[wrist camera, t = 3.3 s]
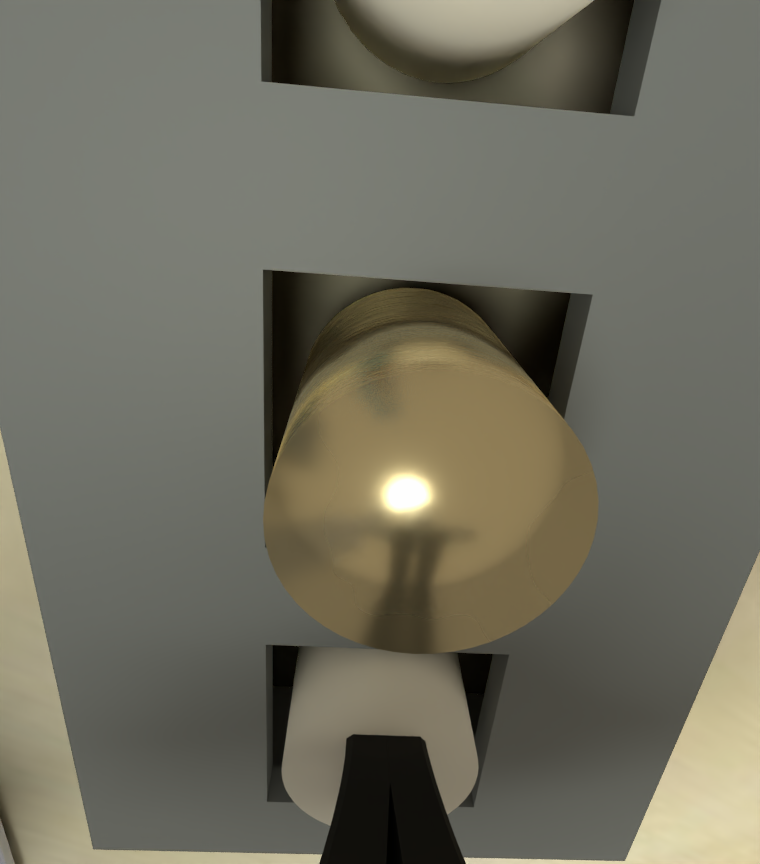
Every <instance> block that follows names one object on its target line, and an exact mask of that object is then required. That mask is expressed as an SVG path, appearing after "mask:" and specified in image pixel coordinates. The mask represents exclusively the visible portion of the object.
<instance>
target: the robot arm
mask: <svg viewBox="0 0 760 864" xmlns="http://www.w3.org/2000/svg"><path fill="white" fill-rule="evenodd" d="M0 864H15V862H14V859H13V856H12V853H11V850H10V847H9V844H8V841H7V838H6V835H5V831H4V828H3V825H2V822H1V819H0ZM320 864H466V863H465V860H464V858H463V855H462V853H461V850H460V848H459V845H458V843H457V840H456V838H455V835H454V832H453V829H452V827H451V824H450V821H449V818H448V816H447V813H446V810H445V807H444V804H443V801H442V798H441V795H440V792H439V789H438V786H437V783H436V779H435V776H434V773H433V769H432V766H431V762H430V758H429V754H428V750H427V746H426V742H425V740H423V739H422V738H421V737H420V736H390V735H360V734H353V735H351V736H349V737H348V738H346V750H345V760H344V767H343V773H342V779H341V784H340V788H339V793H338V797H337V802H336V806H335V810H334V814H333V818H332V822H331V826H330V829H329V833H328V836H327V839H326V843H325V846H324V850H323V853H322V857H321V860H320Z"/></svg>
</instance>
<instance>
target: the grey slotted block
mask: <svg viewBox="0 0 760 864" xmlns="http://www.w3.org/2000/svg"><path fill="white" fill-rule="evenodd" d="M272 270H276V271H290V272H303V273H316V274H329V275H342V276H355V277H368V278H381V279H395V280H408V281H421V282H434V283H447V284H460V285H473V286H486V287H499V288H513V289H526V290H539V291H552V292H565V293H571V296H570V300H569V305H568V309H567V314H566V319H565V323H564V328H563V333H562V337H561V342H560V346H559V351H558V356H557V360H556V365H555V370H554V374H553V379H552V383H551V388H550V393H549V397H548V400H549V402H550V403H551V404H552V405H553V407H554V408H555V409H556V410H557V412H558V413H559V414H560V415H561V416H562V418H563V419H564V420H565V421H566V423H567V424H568V425H569V426H570V428H571V429H572V430H573V432H574V433H575V435H576V436H577V438H578V439H579V441H580V442H581V444H582V445H583V447H584V449H585V451H586V453H587V455H588V458H589V460H590V462H591V464H592V468H593V471H594V475H595V479H596V483H597V491H598V501H599V504H598V521H597V526H596V531H595V536H594V540H593V542H592V545H591V548H590V551H589V553H588V556H587V558H586V560H585V562H584V564H583V566H582V567H581V569H580V571H579V573H578V574H577V576H576V577H575V579H574V580H573V581H572V583H571V584H570V586H569V587H568V588H567V589H566V591H565V592H564V593H563V594H562V595H561V596H560V597H559V598H558V599H557V600H556V602H554V603H553V604H552V605H551V606H550V607H549V608H548V609H546V610H545V611H544V612H543V613H542V614H541V615H539V616H538V617H536V618H535V619H533V620H532V621H531V622H529V623H528V624H526V625H525V626H523V627H521V628H519V629H517V630H516V631H514V632H512V633H510V634H508V635H506V636H503V637H501V638H499V639H496V640H494V641H492V642H489V643H486V644H482V645H479V646H476V647H473V648H468V649H463V650H459V651H454V652H456V653H480V654H493V656H492V661H491V666H490V670H489V675H488V680H487V684H486V689H485V693H484V694H474V693H465V694H466V699H467V705H468V710H469V715H470V720H471V726H472V731H473V736H474V741H475V746H476V752H477V757H478V767H479V768H478V776H477V779H476V782H475V785H474V787H473V789H472V791H471V792H470V794H469V795H468V796H467V798H466V799H465V800H464V801H463V802H462V803H461V804H460V805H459V806H458V807H457V808H456V809H454V810H453V811H452V812H450V813H449V814H447V816H448V818H449V821H450V824H451V827H452V829H453V832H454V835H455V838H456V840H457V843H458V845H459V848H460V850H461V853H462V855H463V857H468V858H514V859H559V860H605V861H625V859H626V857H627V855H628V852H629V850H630V848H631V845H632V843H633V841H634V839H635V836H636V834H637V832H638V829H639V827H640V825H641V822H642V820H643V818H644V816H645V813H646V811H647V809H648V806H649V804H650V802H651V799H652V797H653V795H654V793H655V790H656V788H657V786H658V783H659V781H660V779H661V776H662V774H663V772H664V770H665V767H666V765H667V763H668V760H669V758H670V756H671V753H672V751H673V749H674V747H675V744H676V742H677V740H678V737H679V735H680V733H681V730H682V728H683V726H684V724H685V721H686V719H687V717H688V714H689V712H690V710H691V707H692V705H693V703H694V701H695V698H696V696H697V694H698V691H699V689H700V687H701V685H702V682H703V680H704V678H705V675H706V673H707V671H708V668H709V666H710V664H711V662H712V659H713V657H714V655H715V652H716V650H717V648H718V645H719V643H720V641H721V639H722V636H723V634H724V632H725V629H726V627H727V625H728V622H729V620H730V618H731V616H732V613H733V611H734V609H735V606H736V604H737V602H738V599H739V597H740V595H741V593H742V590H743V588H744V586H745V583H746V581H747V579H748V576H749V574H750V572H751V570H752V567H753V565H754V563H755V560H756V558H757V556H758V553H759V551H760V0H634V4H633V9H632V13H631V18H630V23H629V27H628V32H627V37H626V41H625V46H624V50H623V55H622V60H621V64H620V69H619V74H618V78H617V83H616V87H615V92H614V97H613V101H612V106H611V111H610V114H603V113H592V112H581V111H571V110H560V109H549V108H539V107H528V106H517V105H507V104H496V103H485V102H475V101H464V100H453V99H443V98H432V97H421V96H411V95H400V94H389V93H379V92H368V91H357V90H347V89H336V88H325V87H315V86H304V85H293V84H283V83H272V0H0V429H1V433H2V438H3V442H4V447H5V451H6V456H7V460H8V465H9V469H10V474H11V479H12V483H13V488H14V492H15V497H16V501H17V506H18V510H19V515H20V519H21V524H22V528H23V533H24V537H25V542H26V546H27V551H28V556H29V560H30V565H31V569H32V574H33V578H34V583H35V587H36V592H37V596H38V601H39V605H40V610H41V614H42V619H43V623H44V628H45V633H46V637H47V642H48V646H49V651H50V655H51V660H52V664H53V669H54V673H55V678H56V682H57V687H58V691H59V696H60V700H61V705H62V710H63V714H64V719H65V723H66V728H67V732H68V737H69V741H70V746H71V750H72V755H73V759H74V764H75V768H76V773H77V777H78V782H79V787H80V791H81V796H82V800H83V805H84V809H85V814H86V818H87V823H88V827H89V832H90V836H91V841H92V845H93V849H104V850H150V851H195V852H241V853H286V854H322V853H323V850H324V846H325V843H326V839H327V836H328V833H329V829H330V825H327V824H325V823H323V822H320V821H318V820H316V819H315V818H313V817H311V816H310V815H308V814H307V813H305V812H304V811H303V810H301V809H300V808H299V807H298V806H297V805H296V804H295V803H294V801H293V800H292V799H291V797H290V796H289V795H288V793H287V791H286V789H285V787H284V783H283V780H282V771H281V770H282V761H283V754H284V747H285V740H286V733H287V726H288V719H289V712H290V705H291V698H292V691H293V687H287V686H273V645H287V646H311V647H335V648H359V649H376V648H373V647H369V646H366V645H363V644H359V643H357V642H354V641H352V640H350V639H347V638H345V637H342V636H340V635H338V634H337V633H335V632H333V631H331V630H330V629H328V628H326V627H324V626H323V625H322V624H320V623H319V622H318V621H316V620H315V619H314V618H312V617H311V616H309V615H308V614H307V613H306V612H305V611H304V610H303V609H302V608H301V607H300V606H299V605H298V604H297V603H296V602H295V601H294V599H293V598H292V597H291V596H290V594H289V593H288V592H287V591H286V590H285V588H284V586H283V585H282V583H281V581H280V580H279V578H278V576H277V575H276V573H275V570H274V568H273V565H272V563H271V561H270V558H269V555H268V551H267V547H266V543H265V538H264V527H263V514H264V501H265V497H266V492H267V488H268V484H269V480H270V477H271V474H272Z"/></svg>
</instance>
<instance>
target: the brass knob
mask: <svg viewBox="0 0 760 864" xmlns="http://www.w3.org/2000/svg"><path fill="white" fill-rule="evenodd" d="M598 504H599V501H598V491H597V483H596V479H595V475H594V471H593V468H592V464H591V462H590V460H589V458H588V455H587V453H586V451H585V449H584V447H583V445H582V444H581V442H580V441H579V439H578V438H577V436H576V435H575V433H574V432H573V430H572V429H571V428H570V426H569V425H568V424H567V423H566V421H565V420H564V419H563V418H562V416H561V415H560V414H559V413H558V412H557V410H556V409H555V408H554V407H553V405H552V404H551V403H550V402H549V400H548V399H547V398H546V397H545V395H544V394H543V393H542V392H541V391H540V389H539V388H538V387H537V386H536V384H535V383H534V382H533V381H532V379H531V378H530V377H529V376H528V374H527V373H526V372H525V371H524V370H523V368H522V367H521V366H520V365H519V363H518V362H517V361H516V360H515V358H514V357H513V356H512V355H511V353H510V352H509V351H508V350H507V349H506V347H505V346H504V345H503V344H502V342H501V341H500V340H499V339H498V337H497V336H496V335H495V334H494V332H493V331H492V330H491V329H490V328H489V326H488V325H487V324H486V323H485V322H484V321H483V320H482V318H481V317H480V316H479V315H478V314H476V313H475V312H474V311H473V310H472V309H470V308H469V307H468V306H466V305H465V304H463V303H461V302H460V301H458V300H457V299H454V298H452V297H450V296H447V295H445V294H442V293H439V292H435V291H432V290H426V289H419V288H397V289H389V290H385V291H381V292H377V293H373V294H371V295H368V296H366V297H364V298H361V299H359V300H358V301H356V302H354V303H352V304H351V305H349V306H347V307H346V308H345V309H343V310H342V311H341V312H340V313H338V314H337V315H336V316H335V317H334V318H333V319H332V320H331V321H330V322H329V323H328V324H327V325H326V327H325V328H324V329H323V331H322V332H321V333H320V335H319V336H318V338H317V340H316V342H315V343H314V345H313V347H312V350H311V352H310V355H309V358H308V360H307V364H306V367H305V370H304V373H303V376H302V379H301V382H300V386H299V389H298V392H297V395H296V398H295V401H294V405H293V408H292V411H291V414H290V417H289V420H288V424H287V427H286V430H285V433H284V436H283V439H282V442H281V446H280V449H279V452H278V455H277V458H276V461H275V465H274V468H273V471H272V474H271V477H270V480H269V484H268V488H267V492H266V497H265V501H264V514H263V527H264V538H265V543H266V547H267V551H268V555H269V558H270V561H271V563H272V565H273V568H274V570H275V573H276V575H277V576H278V578H279V580H280V581H281V583H282V585H283V586H284V588H285V590H286V591H287V592H288V593H289V594H290V596H291V597H292V598H293V599H294V601H295V602H296V603H297V604H298V605H299V606H300V607H301V608H302V609H303V610H304V611H305V612H306V613H307V614H308V615H309V616H311V617H312V618H314V619H315V620H316V621H318V622H319V623H320V624H322V625H323V626H324V627H326V628H328V629H330V630H331V631H333V632H335V633H337V634H338V635H340V636H342V637H345V638H347V639H350V640H352V641H354V642H357V643H359V644H363V645H366V646H369V647H373V648H376V649H381V650H386V651H391V652H398V653H409V654H436V653H445V652H454V651H459V650H463V649H468V648H473V647H476V646H479V645H482V644H486V643H489V642H492V641H494V640H496V639H499V638H501V637H503V636H506V635H508V634H510V633H512V632H514V631H516V630H517V629H519V628H521V627H523V626H525V625H526V624H528V623H529V622H531V621H532V620H533V619H535V618H536V617H538V616H539V615H541V614H542V613H543V612H544V611H545V610H546V609H548V608H549V607H550V606H551V605H552V604H553V603H554V602H556V600H557V599H558V598H559V597H560V596H561V595H562V594H563V593H564V592H565V591H566V589H567V588H568V587H569V586H570V584H571V583H572V581H573V580H574V579H575V577H576V576H577V574H578V573H579V571H580V569H581V567H582V566H583V564H584V562H585V560H586V558H587V556H588V553H589V551H590V548H591V545H592V542H593V540H594V536H595V531H596V526H597V521H598Z"/></svg>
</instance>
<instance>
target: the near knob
mask: <svg viewBox="0 0 760 864" xmlns="http://www.w3.org/2000/svg"><path fill="white" fill-rule="evenodd" d="M334 1H335V4H336V6H337V8H338V10H339V12H340V14H341V15H342V17H343V18H344V20H345V21H346V23H347V25H348V26H349V28H350V29H351V31H352V32H353V33H354V34H355V35H356V37H357V38H358V39H359V40H360V41H361V43H362V44H363V45H364V46H365V47H366V48H367V49H368V50H370V51H371V52H372V53H373V54H374V55H375V56H376V57H377V58H379V59H380V60H382V61H383V62H384V63H386V64H387V65H389V66H390V67H392V68H394V69H396V70H398V71H400V72H402V73H404V74H406V75H409V76H412V77H415V78H418V79H421V80H426V81H431V82H437V83H456V82H464V81H471V80H474V79H478V78H481V77H484V76H487V75H490V74H492V73H494V72H496V71H498V70H501V69H503V68H504V67H506V66H507V65H509V64H511V63H512V62H514V61H515V60H517V59H518V58H520V57H521V56H522V55H524V54H525V53H526V52H528V51H529V50H530V49H531V48H533V47H534V46H535V45H537V44H538V43H539V42H541V41H542V40H543V39H544V38H546V37H547V36H548V35H550V34H551V33H552V32H554V31H555V30H556V29H557V28H559V27H560V26H561V25H563V24H564V23H565V22H567V21H568V20H569V19H571V18H572V17H573V16H574V15H576V14H577V13H578V12H580V11H581V10H582V9H584V8H585V7H586V6H587V5H589V4H590V3H591V2H593V1H594V0H334Z"/></svg>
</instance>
